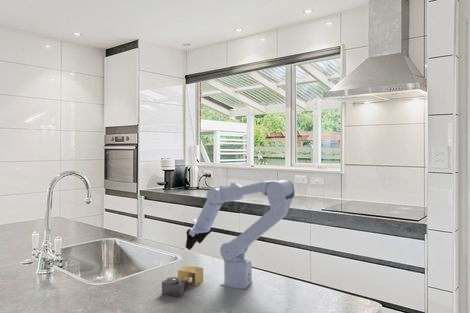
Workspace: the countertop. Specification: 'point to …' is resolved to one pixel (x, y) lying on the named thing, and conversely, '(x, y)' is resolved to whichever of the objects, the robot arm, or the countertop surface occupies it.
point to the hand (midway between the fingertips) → (193, 245)
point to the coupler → (173, 287)
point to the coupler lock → (191, 274)
